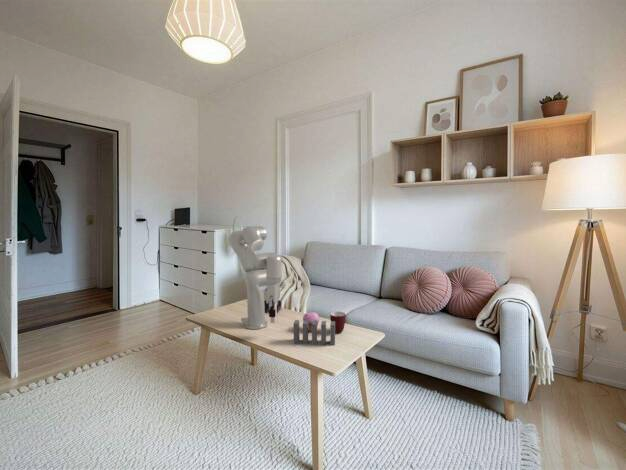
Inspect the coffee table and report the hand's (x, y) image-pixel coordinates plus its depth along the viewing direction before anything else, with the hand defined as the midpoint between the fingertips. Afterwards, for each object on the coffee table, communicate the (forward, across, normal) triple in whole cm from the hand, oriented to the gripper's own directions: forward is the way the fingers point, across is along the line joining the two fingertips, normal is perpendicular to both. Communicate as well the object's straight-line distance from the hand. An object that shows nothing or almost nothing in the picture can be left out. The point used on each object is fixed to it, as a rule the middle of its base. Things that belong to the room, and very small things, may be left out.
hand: (273, 314), depth 155 cm
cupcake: (+13, -12, +18) cm, 25 cm away
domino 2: (+12, +3, +17) cm, 21 cm away
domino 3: (+12, +3, +22) cm, 25 cm away
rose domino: (+4, 0, 0) cm, 4 cm away
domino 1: (+12, +3, +13) cm, 18 cm away
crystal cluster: (+15, -43, -12) cm, 47 cm away
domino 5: (+11, +3, +30) cm, 33 cm away
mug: (+12, -12, +33) cm, 37 cm away
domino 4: (+12, +3, +26) cm, 29 cm away
